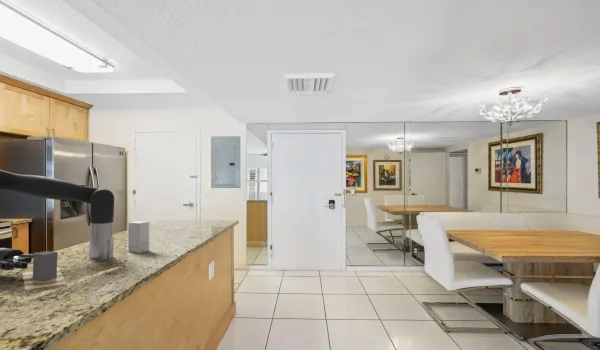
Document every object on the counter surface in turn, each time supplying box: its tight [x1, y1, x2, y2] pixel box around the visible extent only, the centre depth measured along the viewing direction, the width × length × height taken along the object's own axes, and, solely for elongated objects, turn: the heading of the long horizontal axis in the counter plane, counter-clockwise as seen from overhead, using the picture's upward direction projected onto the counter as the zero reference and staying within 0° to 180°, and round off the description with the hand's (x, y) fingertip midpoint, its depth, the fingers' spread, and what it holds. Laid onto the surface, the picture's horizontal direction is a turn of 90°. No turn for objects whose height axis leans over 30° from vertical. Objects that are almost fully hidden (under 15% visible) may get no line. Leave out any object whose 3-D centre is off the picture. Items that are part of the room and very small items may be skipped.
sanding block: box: [32, 250, 58, 283], centre depth 110 cm, size 5×4×10 cm
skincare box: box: [127, 220, 150, 254], centre depth 160 cm, size 8×7×16 cm
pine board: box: [22, 267, 68, 291], centre depth 113 cm, size 24×11×1 cm, turn 44°
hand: (39, 262), depth 110 cm, fingers open, 8 cm apart
